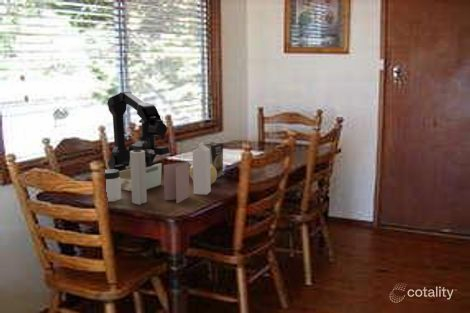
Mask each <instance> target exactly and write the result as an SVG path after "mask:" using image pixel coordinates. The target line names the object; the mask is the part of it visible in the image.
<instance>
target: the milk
mask: <svg viewBox="0 0 470 313" xmlns="http://www.w3.org/2000/svg"><path fill="white" fill-rule="evenodd" d="M204 145H205V144H204V141H201V142H200V143H198V147H197V148H195V149H193V150H192V165H193V179H192V181H193V184H192V185H193V195H204V196H205V195H206V196H207V195H208V194H209V193H211V192H212V190H211V185H212V184H211V182H210V149H209V148H207V147H206V146H204Z"/></svg>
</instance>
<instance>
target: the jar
mask: <svg viewBox="0 0 470 313" xmlns="http://www.w3.org/2000/svg"><path fill="white" fill-rule="evenodd" d="M104 170H105V178H106V192H107V197H108V201H107V202H117V201H119V200H122V189H121V180H120V173H119V170H116V169H112V168H109V169H104Z"/></svg>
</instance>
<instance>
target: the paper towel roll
mask: <svg viewBox="0 0 470 313" xmlns="http://www.w3.org/2000/svg"><path fill="white" fill-rule="evenodd" d="M129 167H130V168H131V189H132V191H131V203H132V204H135V205H139V206H141V204H145V203H147V202H148V200H147V199H148V197H147V196H148V194H147V189H146V167H147V166H146V162H145V151H144V150H133V151H130V162H129Z"/></svg>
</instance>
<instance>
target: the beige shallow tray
mask: <svg viewBox="0 0 470 313" xmlns="http://www.w3.org/2000/svg"><path fill="white" fill-rule="evenodd" d="M119 173H120V180H121V191H122V190H123V191H129V192H132V189H131V167H130V168H128V169H127V168H126V170H123V171H119Z"/></svg>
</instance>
